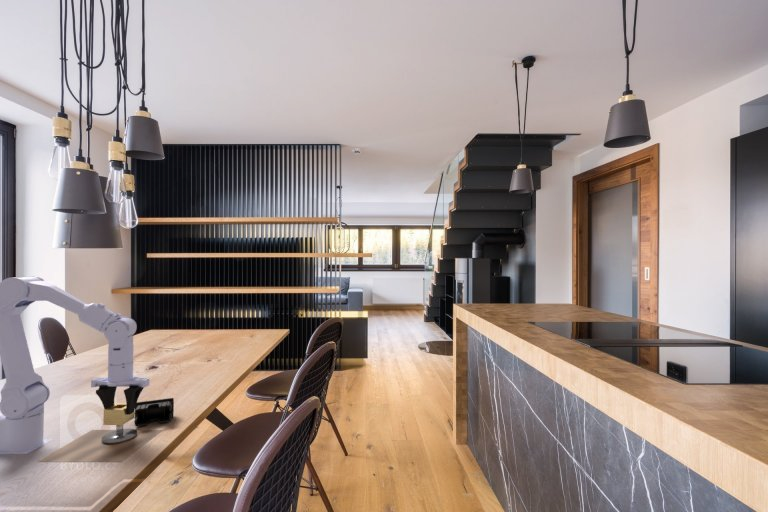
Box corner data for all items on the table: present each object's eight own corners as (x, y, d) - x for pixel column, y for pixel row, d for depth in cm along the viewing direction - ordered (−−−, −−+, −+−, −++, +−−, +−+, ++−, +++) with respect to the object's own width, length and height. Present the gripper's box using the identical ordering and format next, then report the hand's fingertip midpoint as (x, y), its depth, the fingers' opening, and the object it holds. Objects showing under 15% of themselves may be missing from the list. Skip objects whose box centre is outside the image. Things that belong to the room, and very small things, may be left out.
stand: (94, 444, 103) (94, 428, 103) (114, 431, 111) (114, 416, 111) (124, 444, 103) (125, 428, 103) (143, 431, 111) (143, 416, 111)
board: (36, 464, 94) (36, 461, 94) (92, 431, 112) (92, 429, 112) (121, 464, 94) (121, 461, 94) (163, 432, 112) (163, 429, 112)
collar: (103, 424, 104) (103, 409, 104) (116, 417, 109) (116, 403, 110) (122, 425, 104) (122, 409, 104) (134, 417, 109) (134, 403, 109)
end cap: (173, 416, 123) (173, 395, 124) (172, 425, 117) (172, 402, 117) (136, 422, 119) (136, 399, 119) (132, 431, 113) (133, 407, 113)
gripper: (82, 366, 103) (81, 419, 103) (138, 366, 103) (137, 419, 103) (101, 360, 110) (101, 409, 110) (154, 360, 111) (153, 409, 110)
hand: (120, 413), depth 107 cm, fingers closed on collar, 5 cm apart
